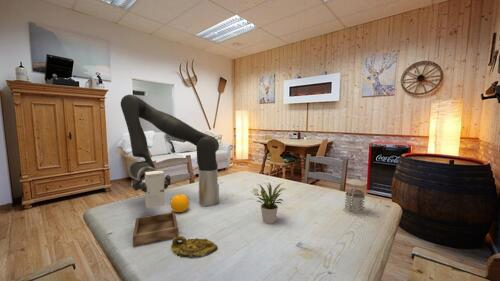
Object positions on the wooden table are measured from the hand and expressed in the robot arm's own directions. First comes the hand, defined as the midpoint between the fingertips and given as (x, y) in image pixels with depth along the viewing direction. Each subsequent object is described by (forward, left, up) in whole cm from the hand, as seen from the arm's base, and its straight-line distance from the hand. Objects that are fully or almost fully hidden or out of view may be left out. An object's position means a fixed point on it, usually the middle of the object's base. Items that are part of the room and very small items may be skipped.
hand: (155, 187), depth 74 cm
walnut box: (0, -2, -17) cm, 18 cm away
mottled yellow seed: (-11, +14, -18) cm, 25 cm away
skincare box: (0, -2, -7) cm, 8 cm away
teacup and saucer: (-51, -21, -18) cm, 58 cm away
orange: (-10, -18, -18) cm, 27 cm away
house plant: (-44, +7, -18) cm, 48 cm away
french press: (-82, +15, -18) cm, 85 cm away
